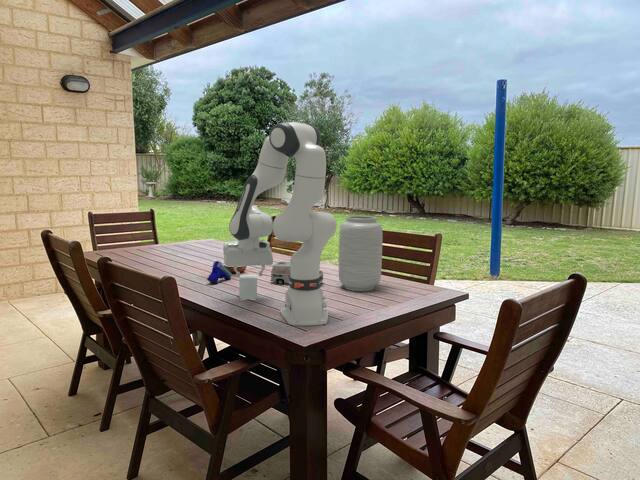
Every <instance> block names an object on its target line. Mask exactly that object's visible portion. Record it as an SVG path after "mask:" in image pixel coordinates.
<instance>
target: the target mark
mask: <svg viewBox="0 0 640 480" xmlns="http://www.w3.org/2000/svg"><path fill="white" fill-rule="evenodd" d="M246 300H250V301H253V302H254V301H257V300H258V299H253V298H243V299H239V301H240V302H243V301H246Z"/></svg>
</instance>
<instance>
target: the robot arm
mask: <svg viewBox="0 0 640 480" xmlns="http://www.w3.org/2000/svg"><path fill="white" fill-rule="evenodd" d="M321 141H322V135H321V133H320V130H319V129H318V127H316V126H315V125H313V124H309V123H303V122H298V121H296V122H295V121H292V122H291V121H290V122H287V121H283V122H278V123H277V124H275V125H273V126H272V127H271V129H270V131H269V135H268V136H267V137H265V139H264V141H263V143H262V147H261V150H260V154H259V157H258V162H257V165H256V167H255V169H254V171H253V173H252V174H251V175H250V176H248V178H247V179H246V181H245V183H244V186H243V189H242V191H241V195H240V198H239V200H238V203H237V206H236V208H235V211H234V213H233V215H232V216H231V219H230V221H229V226H228V228H229V233H230V234H231V235H232V237H233V238H235V239H237V243H228V244H226V245H225V246H224V247H223V254H224V255H225V256H224V266H225V267H233V270H234V272H235V274H236V278H237V277H238V278H240V275H241V271H238V270H237V269H238V267H247V266H249V267H250V266H254V267H255V266H261V270H259V271H258V276H259V277H262V276H263V273H264V271H265V269H266V266H273V265H274V257H273V256H274V255H273V252H272V248H270V246H271V244H270V241H267V240H264V239H260V238H264V237H265V238H266V237H269V236H272V234H273V235H274V236H275V238H276V239H277V240H278V241H280V242H289V243H296V242H302V244H301V245H300V248H299V249H298V250H296V251H294V253H293V254H292V255H291V257H290V261H289V262H290V277H289V283H288V289H287V290H285V293H284V309H280V310H279V314H280V315H281V317H282V318H283V319H284V320H285V321H286V323H287V324H288V325H292V326H304V327H306V326H321V325H325V324H328V321H329V313H330V312H329V311H330V309H328V308H327V307H328V306H327V305H328V302H327V301H325V300H326V296H325V295H324V290H323V289H322V288H321V283H322V282H321V280H320V277H319V271H320V270H321V269H320V267H321V265H320V264H321V256H322V253H323V250H324V248H325V246H326V244H327V243H328V241H329V240H331V238H332V237H333V236H334V235H335V234H336V233H337V228H338V227H337V226H338V225H337V220H336V218H335V216H334V215H333V214H332V213H330V212H326V211H320V210H319V211H311V210H312V208H313V207H314V206H315V205H317V204H318V203H319V202H320V201H322V200H323V198H324V193H325V184H326V173H327V155H326V151H325V149H324V148H323V147H322V146H320V145H321ZM291 157H294V160H295V163H296V164H295V165H296V166H295V175H294V182H293V183H294V184H293V185H294V186H293V191H292V194H291V195H292V196H291V197H290V200H289V202H288V204H287V206H286V207H285V208H284V209H283V211H281V212H280V213H279V214H278V215H277V216H276V217H275V218H274V219H273V217H272V215H270V214H268V213H266V212H263V211H261V210H260V209H259V208H258V206H257V205H255V204H254V203H255V200H256V199H257V197H258V196H259V195H260V194H261V193H263V192H265V191H267V190H269V189H273V188H274V187H277V186H278V185H280V184H281V183H282V181H283V180H284V178H285V176H286V172H287V167H288V161H289V158H291Z"/></svg>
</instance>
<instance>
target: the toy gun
mask: <svg viewBox="0 0 640 480" xmlns="http://www.w3.org/2000/svg"><path fill="white" fill-rule="evenodd" d="M211 266H212V268H211V272H210V274H209V275H208V277H207V278H206V280H207V281H209V282H210V283H211V284H214V283H215V285H218V284H219V280H220V279H221V280H222V279H224V280H229V281H231V277H232V275H233V273H232V272H231V271H230V270H229V269H228V268H227V266H225V265H224V264H222V261H219V260H216V261H214V262H213V263H212V265H211Z"/></svg>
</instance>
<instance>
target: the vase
mask: <svg viewBox="0 0 640 480" xmlns="http://www.w3.org/2000/svg"><path fill="white" fill-rule="evenodd" d="M382 263H383V227H382V224H381V223H379V222H377V217H375V216H370V215H369V216H368V215H349V216H346V218H345V221H343V222H342V223H341V224H340V226H339V233H338V280H339V282H340V283H341V285H343V286H344V289H346V290H349V291H353V292H369V291H372V290H374V289H375V287H377V286H378V285H379V283H380V282H381V279H382Z"/></svg>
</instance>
